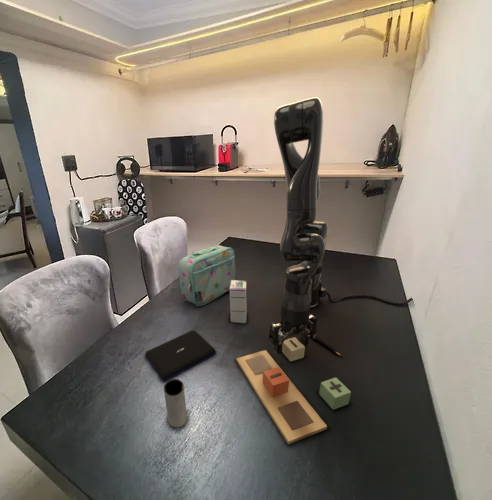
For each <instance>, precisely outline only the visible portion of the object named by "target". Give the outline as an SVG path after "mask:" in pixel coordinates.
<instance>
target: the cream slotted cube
mask: <svg viewBox="0 0 492 500" xmlns="http://www.w3.org/2000/svg"><path fill="white" fill-rule="evenodd" d="M305 350H306V348H305V346H303V345H302V344H301V343H300V340H299V339H297V337H295V336H294V337H291V338H290V337H289V338H288V339H287V340H285V341H284V342H283V344H282V354H283V355H284V356H285V357H286V358H287V359H288V361H289V362H294V361H297V360H301V359H303V358H304V357H305Z"/></svg>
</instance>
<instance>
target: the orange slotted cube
mask: <svg viewBox="0 0 492 500" xmlns="http://www.w3.org/2000/svg"><path fill="white" fill-rule="evenodd" d="M279 367H280V366H279ZM279 367H276V368H273V369H270V370H266V371H263V384H264V386H265V387H266V389H267V390H268V392H269V393H270V395H271V396H272V397H275V396H277V395H280V394H283V393H286V392H288V388H289V379H290V378H289V377H288V376H287V375H286V373H285V372H284V371H283V370H282V368H281V367H280V368H281V369H280V368H279ZM281 370H282V371H283V372H284V373H285V374H284V373H283V372H282V371H281ZM285 375H286V376H287V377H288V378H289V379H288V378H287V377H286V376H285Z"/></svg>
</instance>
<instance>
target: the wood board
mask: <svg viewBox="0 0 492 500" xmlns="http://www.w3.org/2000/svg"><path fill="white" fill-rule="evenodd" d="M235 362H236V363H237V366H238V367H239V368H240V369H241V372H242V373H243V375H244V376H245V378H246V379H247V381H248V382H249V384H250V386H251V387H252V390H254V392H255V394H256V395H257V397H258V399H259V400H260V403H262V405H263V407H264V408H265V410H266V412H267V413H268V415H269V417H270V418H271V419H272V421H273V422H274V424H275V426H276V427H277V429H278V430H279V433H280V434H281V435H282V437H283V439H284V441H285V442H286V444H287V445H290V444H293V443H296V442H299V441H301V440H303V439H305V438H308V437H311V436H314V435H315V434H318V433H320V432H323V431H326V430H327V429H328V426H327V424H326V423H325V422H324V420H323V419H322V418H321V417H320V415H319V414H318V413H317V411H316V410H315V409H314V408H313V407H312V405H311V404H310V403H309V402H308V401H307V399H306V398H305V397H304V396H303V394H302V393H301V392H300V391H299V389H298V388H297V387H296V385H295V384H294V383H293V381H291V379H290V378H289V377H288V376H287V374H286V373H285V372H284V371H283V369H282V368H281V367H280V366H279V364H278V363H277V362H276V361H275V360H274V358H273V357H272V356H271V354H270V353H269V352H268V351H267V350H266V349H264V350H260V351H257V352H254V353H250V354H247V355H244V356H243V355H242V356H239V357H236V358H235ZM276 367H279V368H280V369H281V371H282V372H283V373H284V374H285V376H286V377H287V378H288V379H289V388H288V392H286V393H283V394H280V395H277V396H275V397H272V396H271V395H270V393H269V392H268V390H267V389H266V387H265V386H264V384H263V371H266V370H270V369H273V368H276Z"/></svg>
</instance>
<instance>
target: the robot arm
mask: <svg viewBox="0 0 492 500" xmlns="http://www.w3.org/2000/svg"><path fill="white" fill-rule="evenodd" d="M322 103H323V102H322V101H321V99H320V98H319V97H316V96H315V97H311V98H307V99H302V100H298V101H294V102H291V103H287V104H283V105H281V106H278V107H277V108H276V110H275V112H274V114H273V125H274V131H275V133H274V134H275V137H276V141H277V145H278V149H279V153H280V157H281V160H282V164H283V170H284V177H285V185H286V190H287V191H286V218H285V224H284V229H283V233H282V236H281V239H280V243H279V254H280V256H281V258H282V259H283V260H284V261H285V262H295V265H291V266H289V267H287V268H286V269H285V271H284V278H283V279H284V280H283V281H284V282H283V289H282V293H281V302H280V304H281V305H280V318H281V319H280V321H279V323H275V322H270V325H269V332H268V340H269V341H270V343H271V344H272V345H273V349H274V351H275V353H276V354H277V355H282V354H283V352H282V344H283V342H284V341H285V340H287V339H290V337H291V336H295V335H299V334H300V333H301V334H300V336H299V337H300V338H299V339H300V340H299V342H300V343H301V344H302V345H303V346H305V349H306V348H308V344H309V340H310V339H309V338H311V337H310V335H312V334H313V335H315V336H316V334H317V322H318V318H317V317H315V315H313V314H312V313H311V309H313V308H316V307H317V306H318V304H320V303H321V298H326V295H327V297H328V301H329V302H331V303H336V302H341V301H343V300H345V299H349V298H371V299H375V300H378V301H381V302H384V303H387V304H390V305H396V306H404V305H408V304H409V303H411V302H412V301H414V300H413V299H412V297H410V298H408V299H407V300H405V301H401V302H397V301H391V300H388V299H385V298H382V297H379V296H375V295H371V294H364V293H363V294H362V293H361V294H360V293H358V294H348V295H344V296H341V297H339V298H337V299H332V296H331V293H329V292H328V291H327V289H326V288H324V287H323V281H322V280H321V279H322V272H323V265H324V257H325V251H326V246H327V241H328V236H329V224H328V223H327V222H325V221H322V220H317V218H318V217H317V215H318V211H317V210H318V204H317V203H318V201H319V199H320V197H321V179H320V175H319V169H320V167H319V166H320V163H321V162H320V161H321V153H322V143H323V133H324V132H323V131H324V130H323V129H324V109H323V104H322ZM305 141H307V146H306V151H305V154H304V157H303V156H302V155H301V154H300V153H299V152H298V150H297V148H296V146H295V144H294V143H299V142H305ZM305 327H306V328H305ZM284 333H285V334H284Z"/></svg>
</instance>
